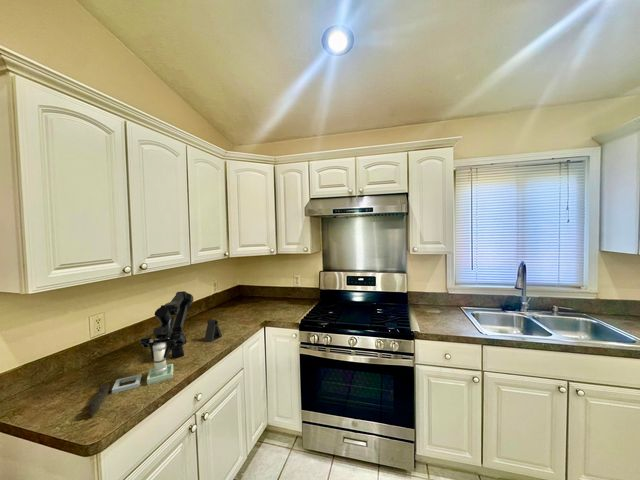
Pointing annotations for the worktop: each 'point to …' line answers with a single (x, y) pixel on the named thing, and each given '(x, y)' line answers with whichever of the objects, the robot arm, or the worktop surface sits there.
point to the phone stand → (212, 331)
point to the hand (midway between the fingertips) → (158, 358)
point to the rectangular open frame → (129, 386)
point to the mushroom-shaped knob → (159, 358)
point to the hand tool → (98, 399)
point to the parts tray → (160, 375)
